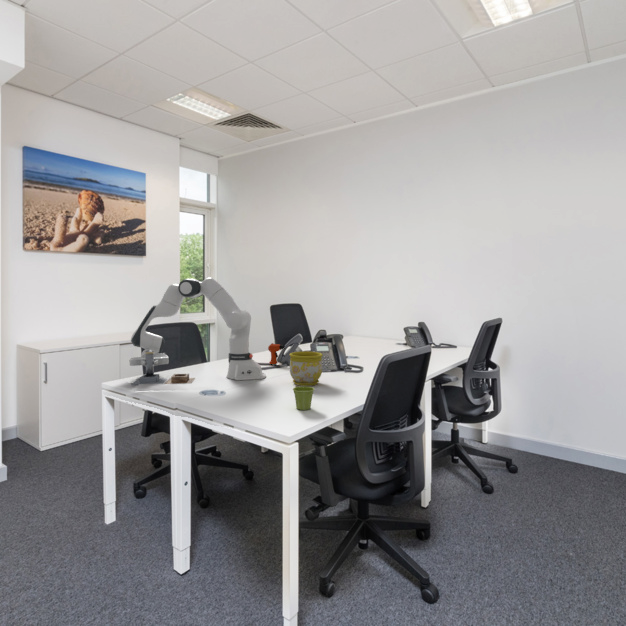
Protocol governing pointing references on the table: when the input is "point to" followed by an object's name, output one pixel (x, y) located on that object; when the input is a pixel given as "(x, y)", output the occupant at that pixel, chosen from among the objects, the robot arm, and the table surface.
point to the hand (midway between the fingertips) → (149, 363)
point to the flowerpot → (306, 367)
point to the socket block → (180, 379)
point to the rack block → (149, 380)
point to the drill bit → (149, 363)
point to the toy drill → (274, 352)
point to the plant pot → (303, 397)
